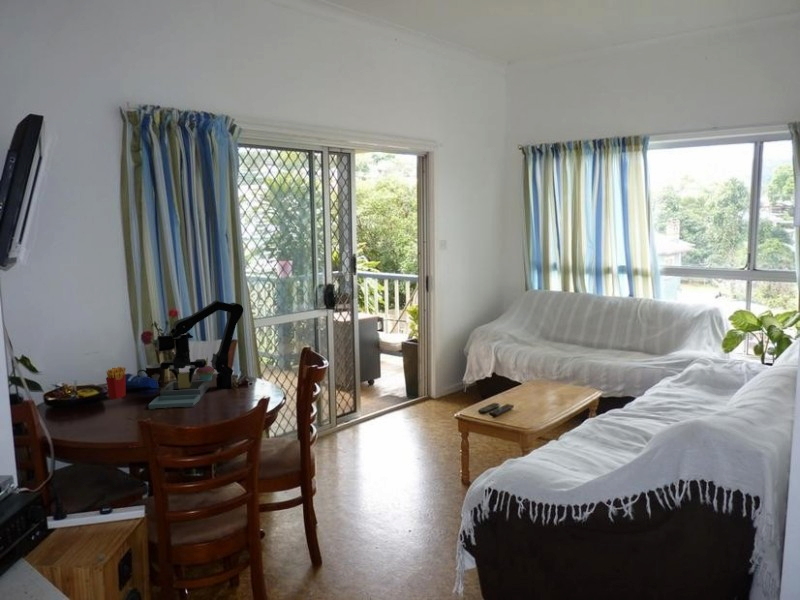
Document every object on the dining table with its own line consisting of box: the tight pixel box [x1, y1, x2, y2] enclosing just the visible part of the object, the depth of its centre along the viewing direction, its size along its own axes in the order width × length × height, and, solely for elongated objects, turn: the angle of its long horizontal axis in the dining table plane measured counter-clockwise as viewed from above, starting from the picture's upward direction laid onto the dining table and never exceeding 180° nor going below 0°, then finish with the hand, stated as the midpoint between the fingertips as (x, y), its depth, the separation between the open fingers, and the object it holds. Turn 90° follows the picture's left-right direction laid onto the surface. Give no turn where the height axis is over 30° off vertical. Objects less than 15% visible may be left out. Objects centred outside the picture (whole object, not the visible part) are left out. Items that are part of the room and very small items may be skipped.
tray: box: [148, 395, 201, 410], centre depth 265 cm, size 18×12×2 cm, turn 95°
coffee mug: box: [137, 363, 166, 388], centre depth 294 cm, size 12×9×10 cm
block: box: [178, 371, 191, 388], centre depth 281 cm, size 4×4×6 cm
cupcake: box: [195, 355, 216, 382], centre depth 304 cm, size 9×8×12 cm
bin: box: [159, 379, 210, 398], centre depth 282 cm, size 17×17×4 cm
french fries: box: [105, 366, 126, 400], centre depth 278 cm, size 9×4×13 cm, turn 155°
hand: (184, 383), depth 282 cm, fingers closed on block, 4 cm apart
